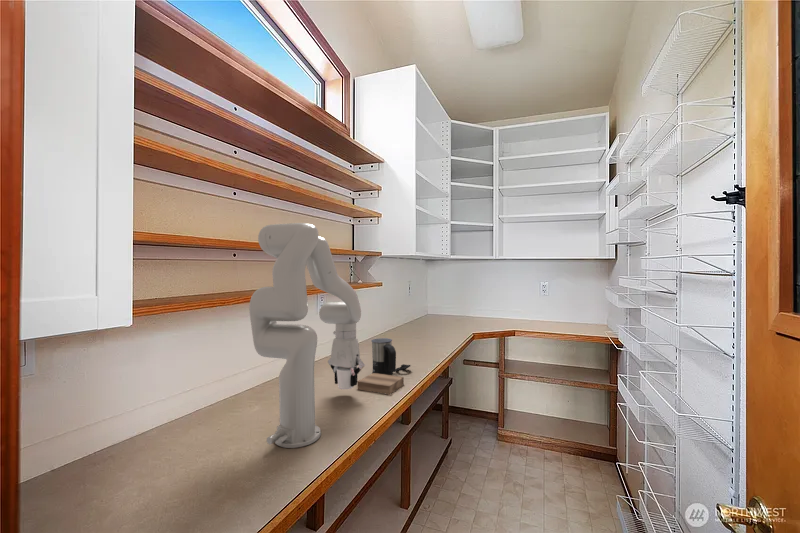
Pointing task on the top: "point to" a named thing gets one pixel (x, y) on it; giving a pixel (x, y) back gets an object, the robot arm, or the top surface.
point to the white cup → (344, 378)
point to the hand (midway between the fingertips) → (345, 383)
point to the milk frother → (384, 357)
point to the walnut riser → (380, 383)
